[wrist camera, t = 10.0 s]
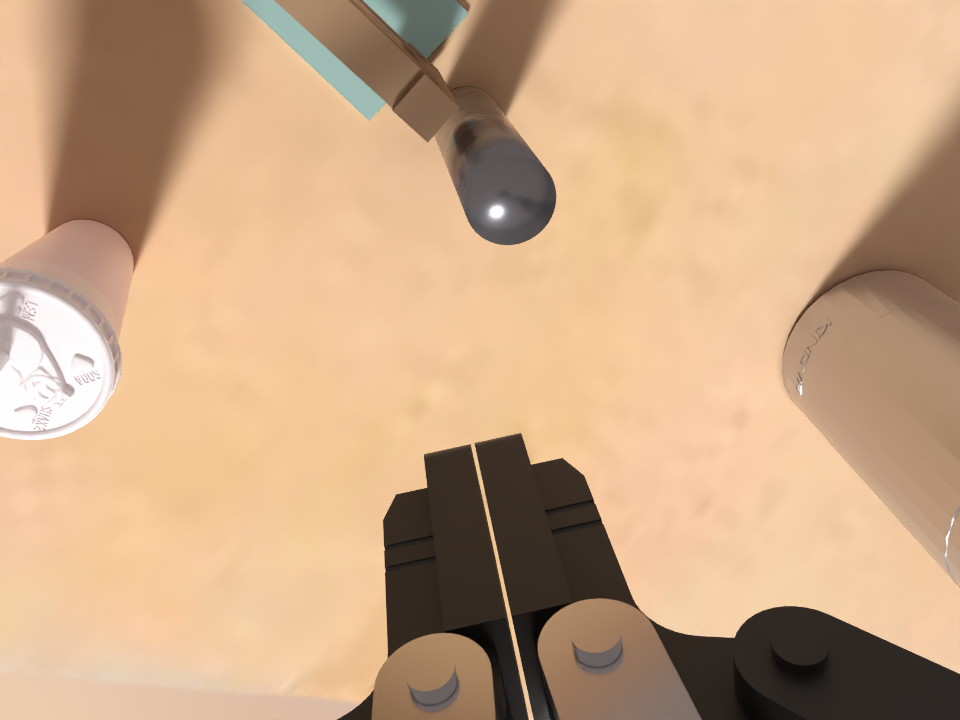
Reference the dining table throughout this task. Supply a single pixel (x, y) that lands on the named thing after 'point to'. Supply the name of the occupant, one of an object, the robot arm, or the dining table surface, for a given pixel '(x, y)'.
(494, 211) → the gatepost
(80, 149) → the dining table surface
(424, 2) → the open mat
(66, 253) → the smoothie
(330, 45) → the gate
